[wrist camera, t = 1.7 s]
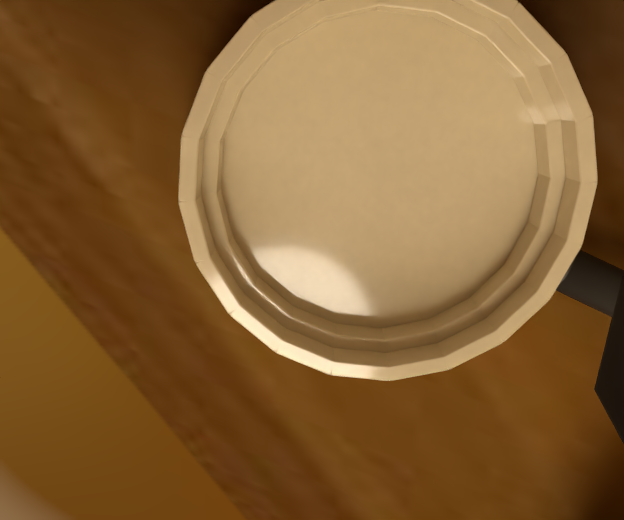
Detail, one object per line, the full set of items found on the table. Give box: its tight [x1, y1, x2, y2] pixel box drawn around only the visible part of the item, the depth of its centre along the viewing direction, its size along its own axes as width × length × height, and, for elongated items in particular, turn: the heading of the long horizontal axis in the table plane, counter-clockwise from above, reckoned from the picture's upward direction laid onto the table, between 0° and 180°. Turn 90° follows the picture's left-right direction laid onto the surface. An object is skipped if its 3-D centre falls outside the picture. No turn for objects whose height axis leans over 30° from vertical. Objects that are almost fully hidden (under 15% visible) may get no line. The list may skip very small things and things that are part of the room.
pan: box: [178, 0, 598, 381], centre depth 25 cm, size 16×16×3 cm
